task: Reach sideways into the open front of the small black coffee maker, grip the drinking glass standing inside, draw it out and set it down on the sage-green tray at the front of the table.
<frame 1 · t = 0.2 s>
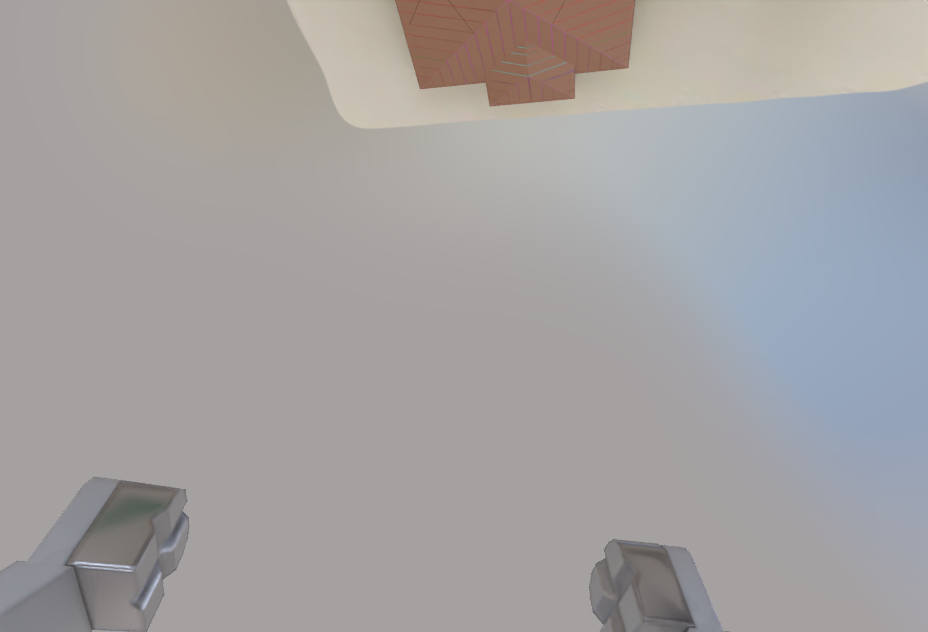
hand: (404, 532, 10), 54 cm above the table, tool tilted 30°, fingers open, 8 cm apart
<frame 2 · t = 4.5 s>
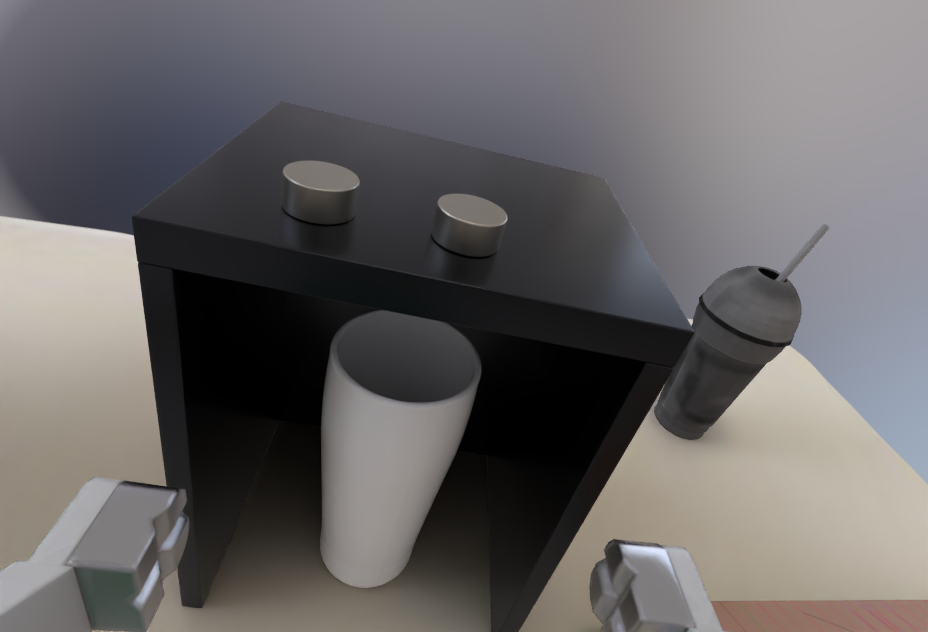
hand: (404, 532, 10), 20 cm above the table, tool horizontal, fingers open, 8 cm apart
beverage cup: (678, 421, 48), on the table
black coffee maker: (372, 511, 33), on the table
drinking glass: (365, 549, 31), on the table
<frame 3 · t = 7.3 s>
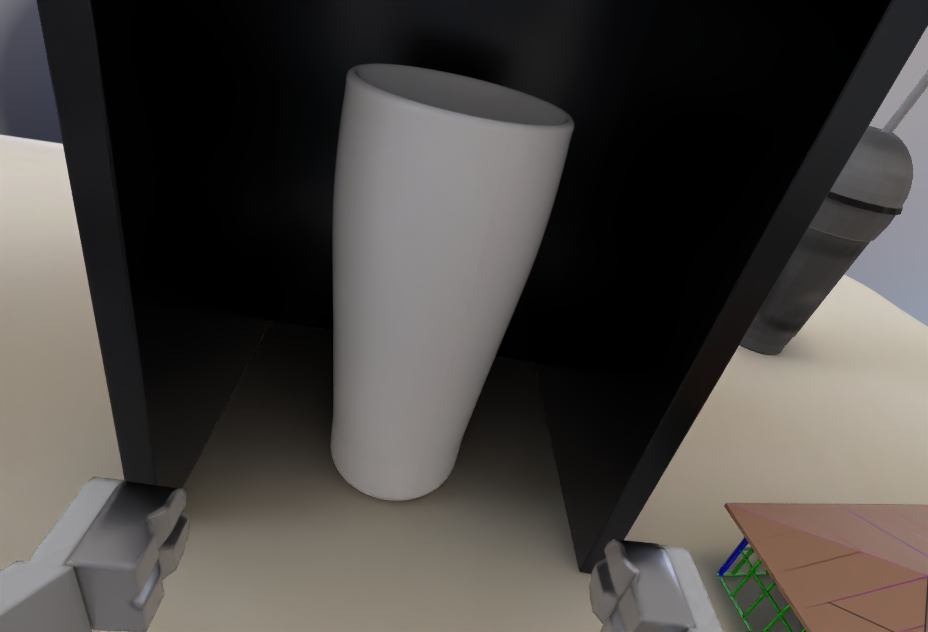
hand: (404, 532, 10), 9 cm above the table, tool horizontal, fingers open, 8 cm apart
beverage cup: (749, 338, 40), on the table
black coffee maker: (397, 416, 25), on the table
drinking glass: (392, 459, 23), on the table
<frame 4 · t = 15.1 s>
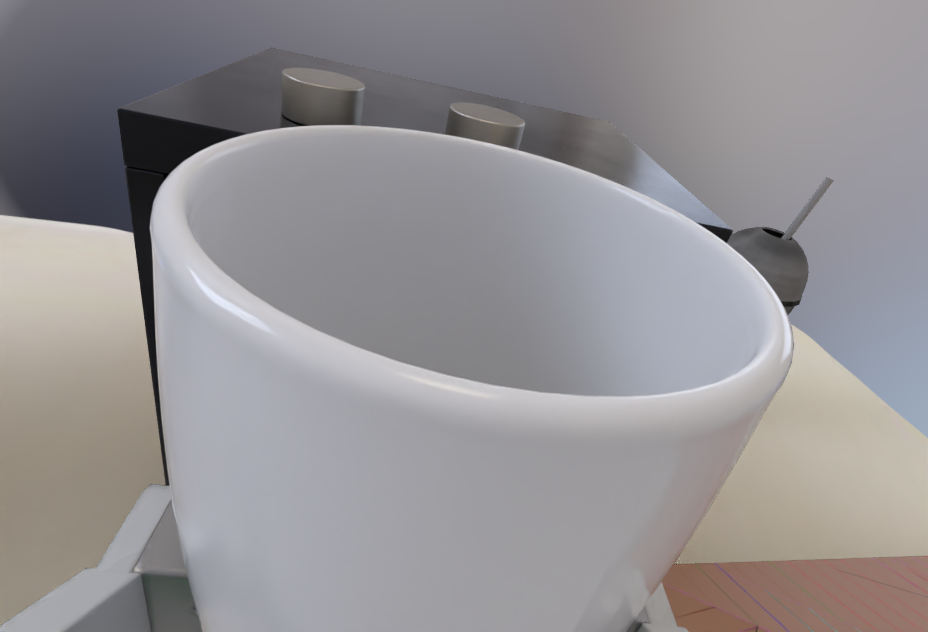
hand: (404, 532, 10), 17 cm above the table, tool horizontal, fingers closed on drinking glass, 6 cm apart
beverage cup: (686, 395, 47), on the table
black coffee maker: (379, 488, 32), on the table
when the fingers open (9 cm above the table, at t = 20.1 s): drinking glass stays where it is, resting on tray.
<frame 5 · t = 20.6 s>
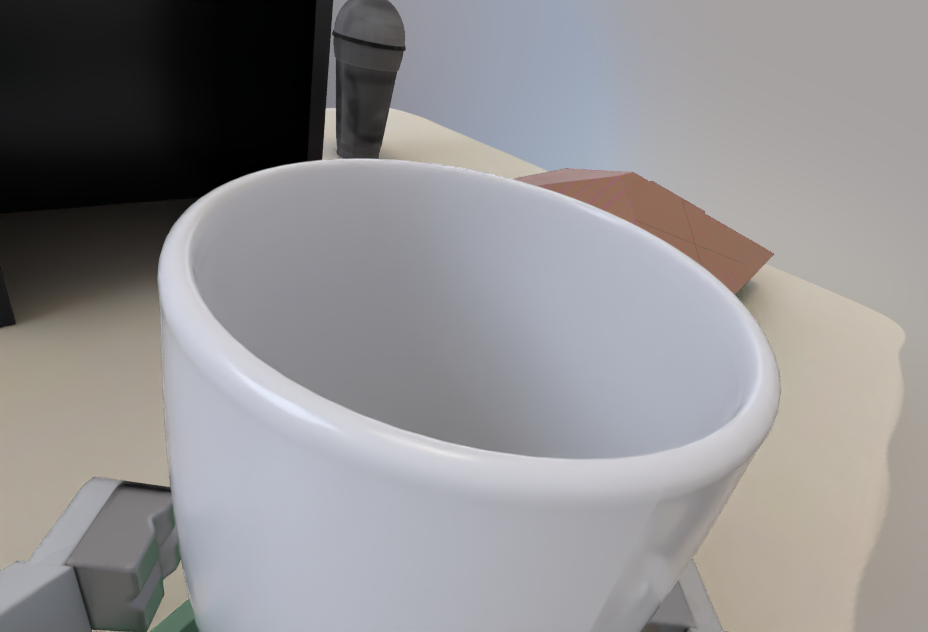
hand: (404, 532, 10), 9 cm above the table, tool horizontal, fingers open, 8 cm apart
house: (587, 267, 46), on the table
beverage cup: (357, 157, 59), on the table
black coffee maker: (141, 241, 35), on the table
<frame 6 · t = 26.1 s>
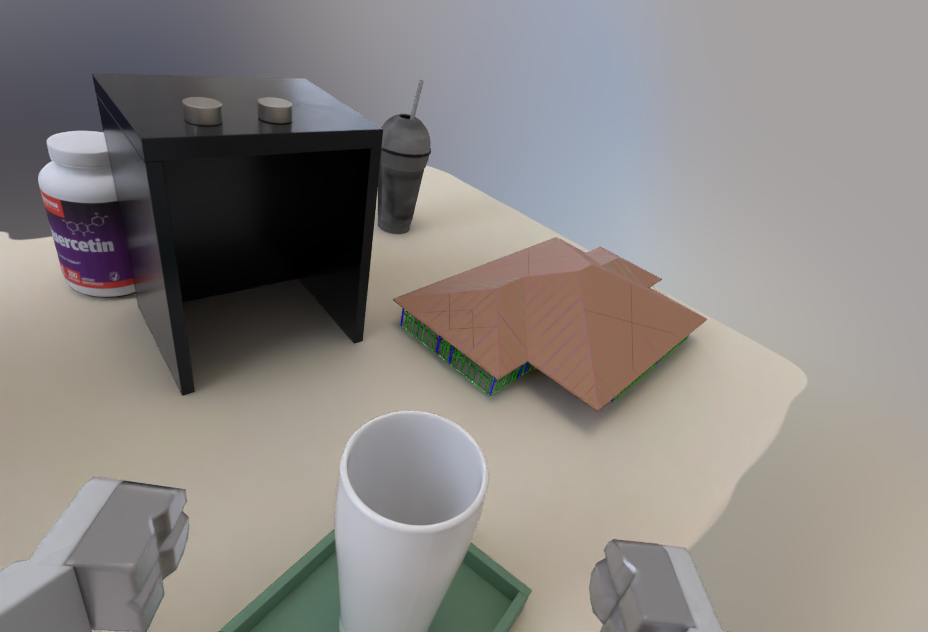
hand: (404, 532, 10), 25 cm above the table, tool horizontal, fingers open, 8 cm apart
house: (559, 330, 63), on the table
beverage cup: (393, 227, 76), on the table
black coffee maker: (252, 324, 53), on the table
drinking glass: (383, 627, 32), resting on tray
tray: (381, 629, 32), on the table
pill bottle: (114, 281, 55), on the table
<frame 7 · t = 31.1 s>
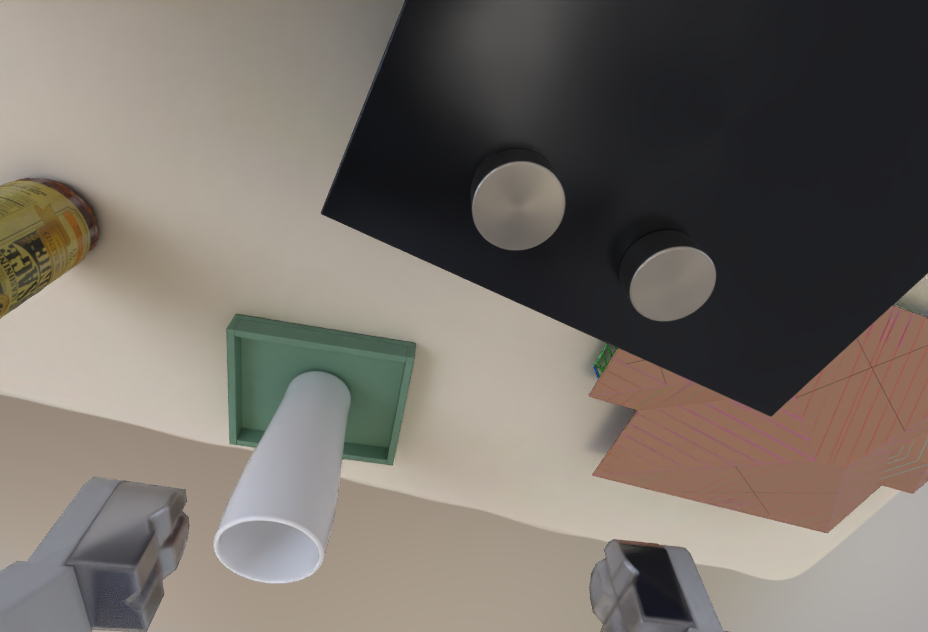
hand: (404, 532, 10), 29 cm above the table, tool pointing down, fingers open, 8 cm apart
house: (765, 389, 47), on the table
black coffee maker: (569, 44, 32), on the table
drinking glass: (321, 390, 45), resting on tray
tray: (322, 387, 46), on the table
sauce bottle: (59, 213, 37), on the table
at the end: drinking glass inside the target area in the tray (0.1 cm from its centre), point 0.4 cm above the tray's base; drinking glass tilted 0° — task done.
